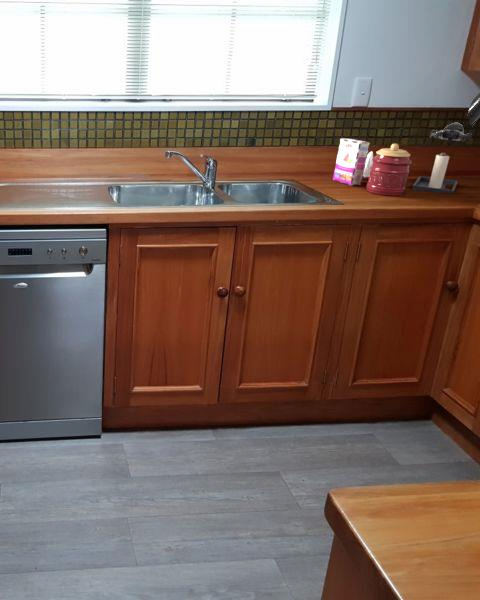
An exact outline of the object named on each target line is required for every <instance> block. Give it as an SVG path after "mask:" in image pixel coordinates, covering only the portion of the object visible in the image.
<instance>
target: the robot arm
mask: <svg viewBox="0 0 480 600" xmlns="http://www.w3.org/2000/svg"><path fill="white" fill-rule="evenodd" d="M474 97H475V98H474ZM474 97H473V98H474V99H473V98H472V99H473V101H472V103H471V105H470V108H469V110H468V114H467V116H468V119H469V124H470V125H471V124H473V123H474V122H475V121H476V122H477V121H478V119H479V118H480V91H478V93H477V94H476V95H475V96H474ZM476 122H475V123H476ZM475 123H474V124H475ZM474 124H473V125H474ZM472 137H473V133H472V132H469V133H467V134H464V127H463V125H462V124H460V123H458V122H454V123H451V124H449V125H447V126H446V127H445V128H444V129H443V130H442V129H440V130H439V131H438V130H437V129H432V130H431V131H430V135H429V138H433V139H436V140H442V141H443V142H444V143H446V144H456V143H457V142H465V141H466V142H471V140H472Z"/></svg>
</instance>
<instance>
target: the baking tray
mask: <svg viewBox="0 0 480 600" xmlns="http://www.w3.org/2000/svg"><path fill="white" fill-rule="evenodd" d="M430 178H431V177H428V176H419V177H418V178H417V179H416V181H415V182H414V183H413V184H412V186H411V190H412V191H420V192H427V193H434V194H435V193H436V194H450V195H453V194H454V193H455V190H456V188H457V186H458V183H459V180H452V179H445V178H444V179H443V183H442V187H441V188H431V187H429V182H430ZM447 185H451V186H452V188H451V189H446V186H447Z"/></svg>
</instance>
